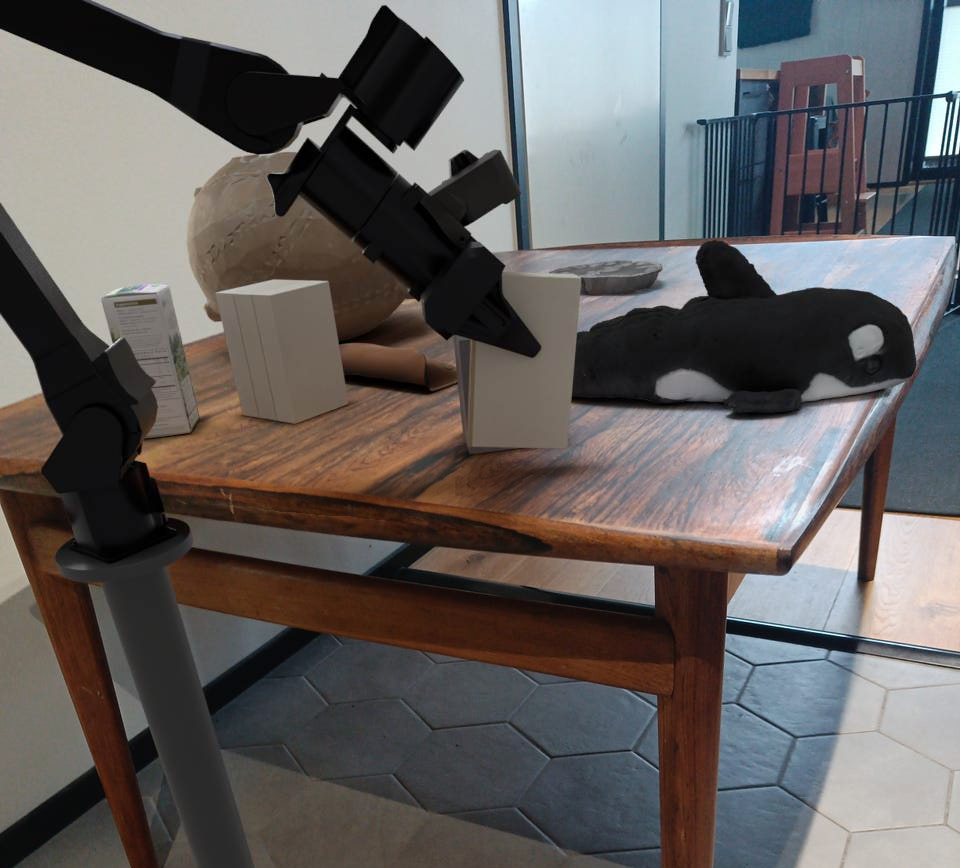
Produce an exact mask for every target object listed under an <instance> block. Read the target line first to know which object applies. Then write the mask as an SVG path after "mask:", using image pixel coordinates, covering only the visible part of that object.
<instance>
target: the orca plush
mask: <svg viewBox="0 0 960 868" xmlns="http://www.w3.org/2000/svg"><path fill="white" fill-rule="evenodd" d="M695 264H696V265H697V269H698V271H699V276H700V277H701V280H702V284H703V286H704V289H705V291H706V295H699V296H694V297H692V298H690V299H689V300H687V302H686V303H685V304H683V306H682V307H681V308H677V307H671V306H668V305H666V304H665V305H663V304H661V305H656V306H653V307H633V309H631V310H628V311H627V313H625V314H624V315H623V314H622V315H619V316H616V317H613V318H610V319H607V320H602V321H600V322H597V323H595V324H594V325H592V326H591V327H590V329H589V330H582V331H577V337H576V349H575V361H574V373H573V385H572V397H571V398H587V399H592V398H593V399H594V398H595V399H596V398H608V399H614V398H621V399H631V400H644V401H648V402H650V403H652V404H659V405H660V404H667V405H669V404H680V403H684V402H709V403H718V402H719V403H724V407H725V408H726V409H730V410H732V411H734V412H736V413H740V414H741V413H742V414H743V413H758V414H777V413H786V412H793V411H794V410H798V409H800V408H801V404H802V403H805V402H813V401H820V400H825V399H827V400H828V399H832V398H833V399H834V398H842V397H846V396H853V395H860V394H861V395H862V394H865V393H866V394H867V393H871V392H876V391H879V390H884V389H889V388H893V387H897V386H899V385H901V384H904V383H907V382H908V380H909V378H912V376H914V374H915V371H916V369H917V355H916V350H915V349H916V348H915V340H914V334H913V330H912V327H911V324H910V321H909V318H908V316H907V315H905V314H904V313H903V311H902V310H901V308H899V307H898V306H896V305H895V304H894V303H892V302H891V301H888V300H887V299H884V298H882V297H880V296H878V295H877V294H874V293H873V292H870V291H866V290H865V291H864V290H858V289H850V288H826V287H822V286H815V287H806V288H804V289H798V290H792V291H789V292H786V293H782V294H777V293H776V292H775V291H774V290H773V289H772V288H771V286H770V284H769V283H768V282H767V281H766V280H765V279H764V277H763V275H762V274H760V273H758V271H757V269H756V266H755V265H754V264H753V263H750V261H749V259H748V258H747V257H746V255H744V254H743V253H742V252H741V251H740V249H738V248H737V247H735V246H732V245H730V244H729V243H727V242H725V241H724V240H718V239H713V240H707V241H704V242H703V243H702V244H701V245H700V246H699V248H698V250H696V255H695Z"/></svg>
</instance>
